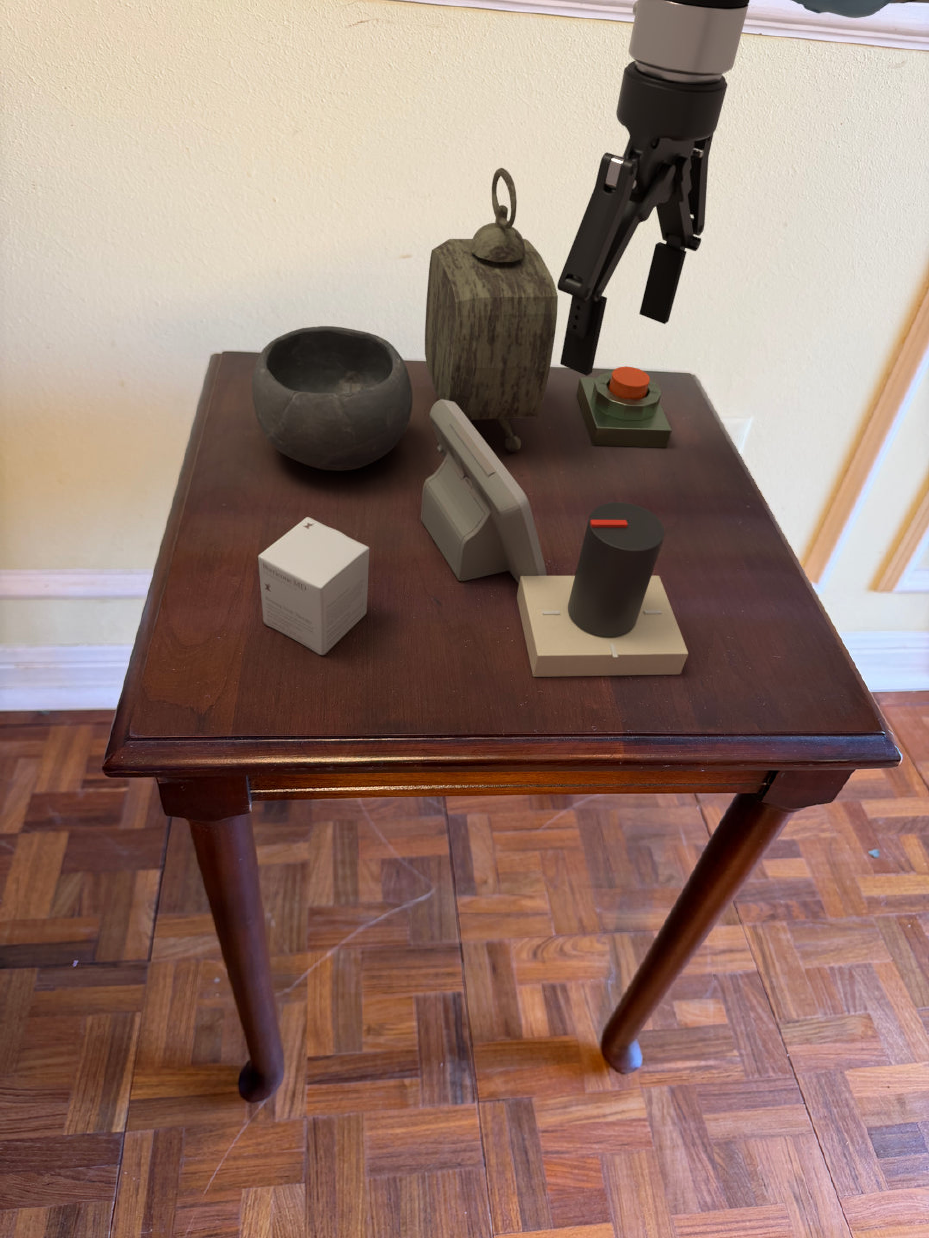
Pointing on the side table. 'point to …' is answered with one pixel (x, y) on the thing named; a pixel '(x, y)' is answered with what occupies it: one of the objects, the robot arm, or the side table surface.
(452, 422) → the digital clock
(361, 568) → the product box
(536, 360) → the tabletop clock
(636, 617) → the dial
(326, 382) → the bowl
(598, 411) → the button block
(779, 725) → the side table surface
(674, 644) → the dial panel
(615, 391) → the push button
